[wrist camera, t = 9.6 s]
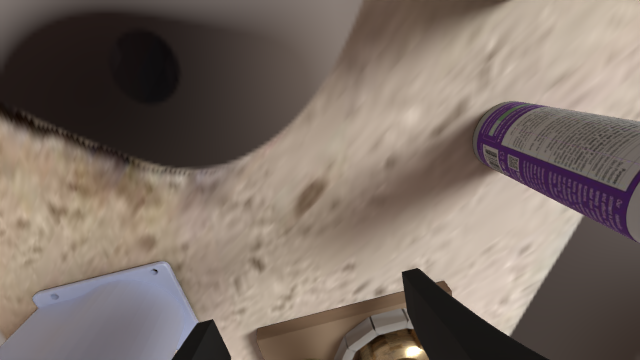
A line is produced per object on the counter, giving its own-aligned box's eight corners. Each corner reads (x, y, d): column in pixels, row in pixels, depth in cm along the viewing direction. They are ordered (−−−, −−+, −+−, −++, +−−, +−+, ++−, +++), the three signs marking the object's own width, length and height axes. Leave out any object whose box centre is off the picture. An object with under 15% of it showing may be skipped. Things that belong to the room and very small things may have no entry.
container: (528, 164, 22) (951, 339, 8) (468, 170, 22) (802, 364, 8) (542, 98, 20) (1111, 177, 6) (477, 103, 20) (929, 200, 6)
